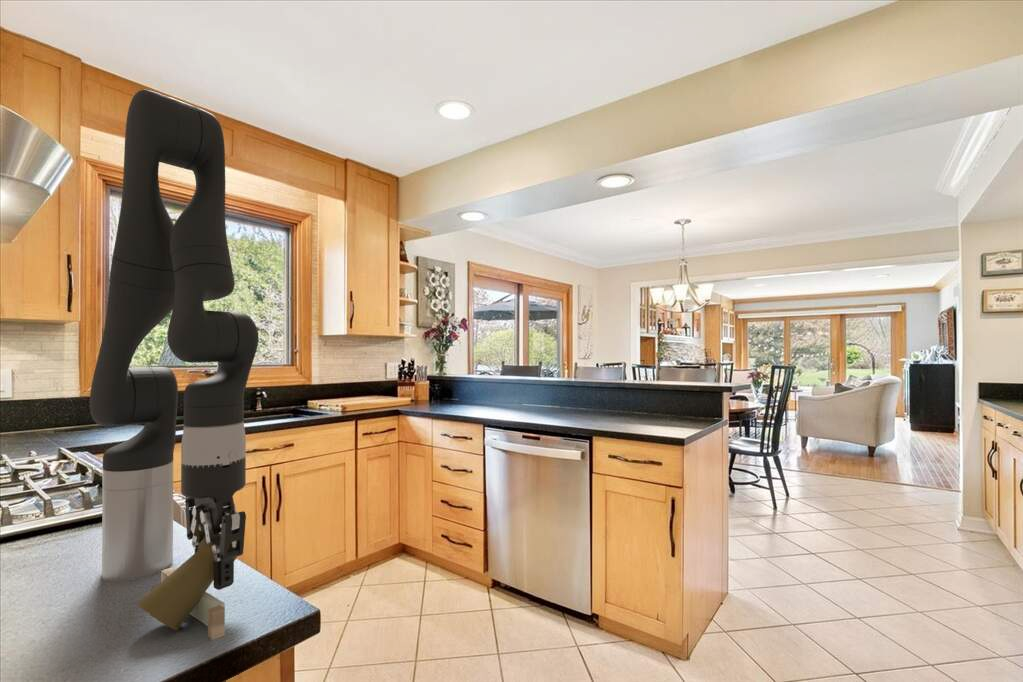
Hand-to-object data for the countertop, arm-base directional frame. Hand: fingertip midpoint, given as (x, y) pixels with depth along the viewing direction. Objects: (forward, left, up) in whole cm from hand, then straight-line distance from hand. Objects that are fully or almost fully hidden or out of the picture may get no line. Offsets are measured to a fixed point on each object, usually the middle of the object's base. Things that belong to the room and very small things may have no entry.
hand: (213, 579), depth 66 cm
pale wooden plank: (-6, -2, -5) cm, 8 cm away
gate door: (-6, -2, -5) cm, 8 cm away
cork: (0, -6, -2) cm, 7 cm away
